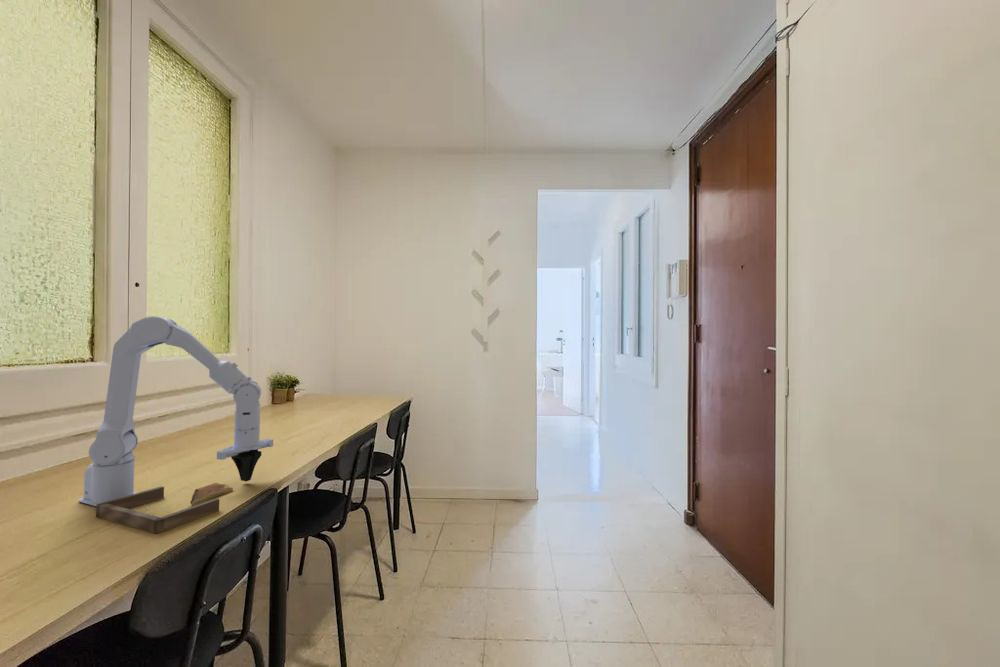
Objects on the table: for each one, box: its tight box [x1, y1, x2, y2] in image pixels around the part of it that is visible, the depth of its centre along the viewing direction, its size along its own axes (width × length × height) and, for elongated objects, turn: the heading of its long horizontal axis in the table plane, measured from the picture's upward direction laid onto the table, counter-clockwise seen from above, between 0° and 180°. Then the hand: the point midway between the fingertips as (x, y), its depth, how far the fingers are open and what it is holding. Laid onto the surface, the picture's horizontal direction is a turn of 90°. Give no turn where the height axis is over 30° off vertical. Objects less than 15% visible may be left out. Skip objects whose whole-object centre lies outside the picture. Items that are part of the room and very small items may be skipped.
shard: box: [189, 482, 234, 507], centre depth 100 cm, size 11×8×2 cm
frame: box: [95, 485, 220, 535], centre depth 90 cm, size 20×12×2 cm, turn 69°
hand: (245, 480), depth 109 cm, fingers closed
